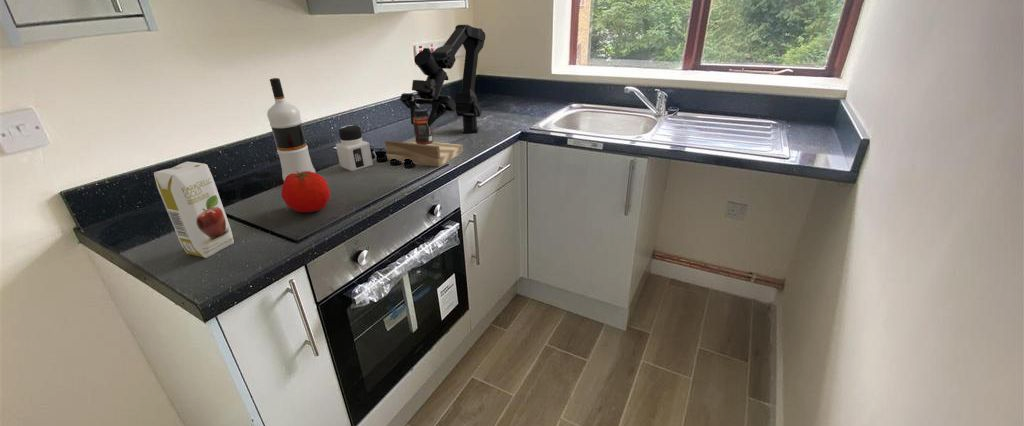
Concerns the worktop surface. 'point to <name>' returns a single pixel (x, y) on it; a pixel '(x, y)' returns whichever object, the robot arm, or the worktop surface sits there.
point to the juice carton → (194, 208)
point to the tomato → (305, 191)
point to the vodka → (288, 134)
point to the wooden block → (423, 152)
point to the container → (353, 149)
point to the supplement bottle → (422, 127)
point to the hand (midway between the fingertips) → (420, 124)
